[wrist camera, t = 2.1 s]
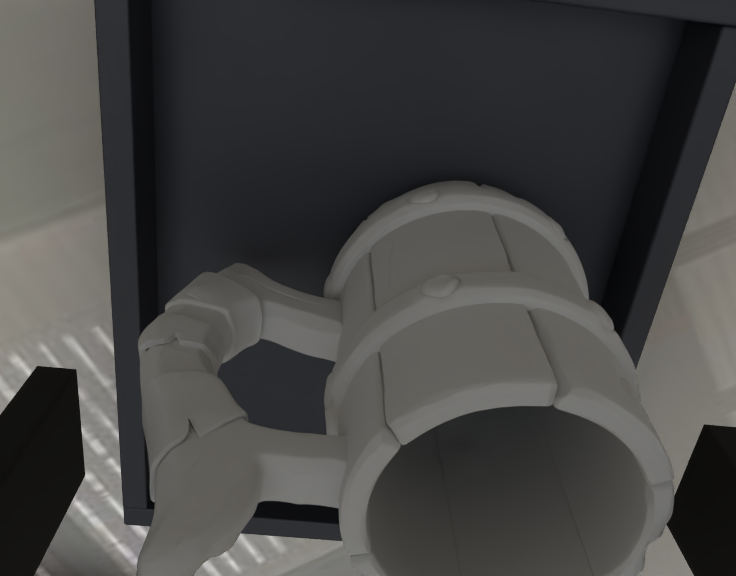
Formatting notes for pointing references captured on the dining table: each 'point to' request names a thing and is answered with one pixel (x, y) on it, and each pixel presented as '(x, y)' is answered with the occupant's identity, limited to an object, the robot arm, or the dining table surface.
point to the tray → (386, 157)
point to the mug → (415, 403)
